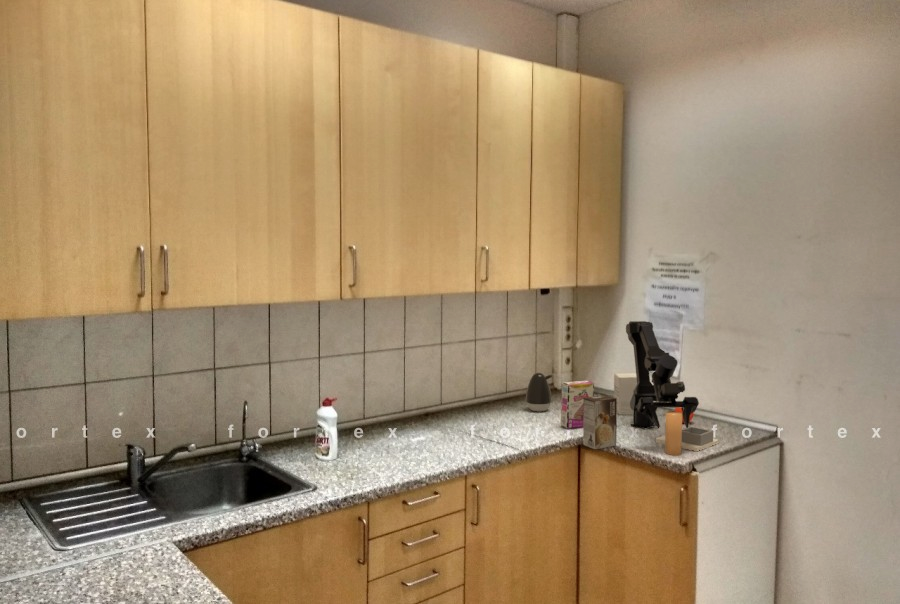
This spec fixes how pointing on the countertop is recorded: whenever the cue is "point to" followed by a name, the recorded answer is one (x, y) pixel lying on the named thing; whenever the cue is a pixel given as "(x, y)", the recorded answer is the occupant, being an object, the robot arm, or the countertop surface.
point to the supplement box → (624, 391)
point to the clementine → (682, 412)
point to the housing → (694, 438)
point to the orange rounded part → (673, 433)
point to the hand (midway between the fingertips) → (673, 427)
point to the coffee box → (600, 421)
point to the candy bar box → (574, 403)
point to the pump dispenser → (538, 393)
